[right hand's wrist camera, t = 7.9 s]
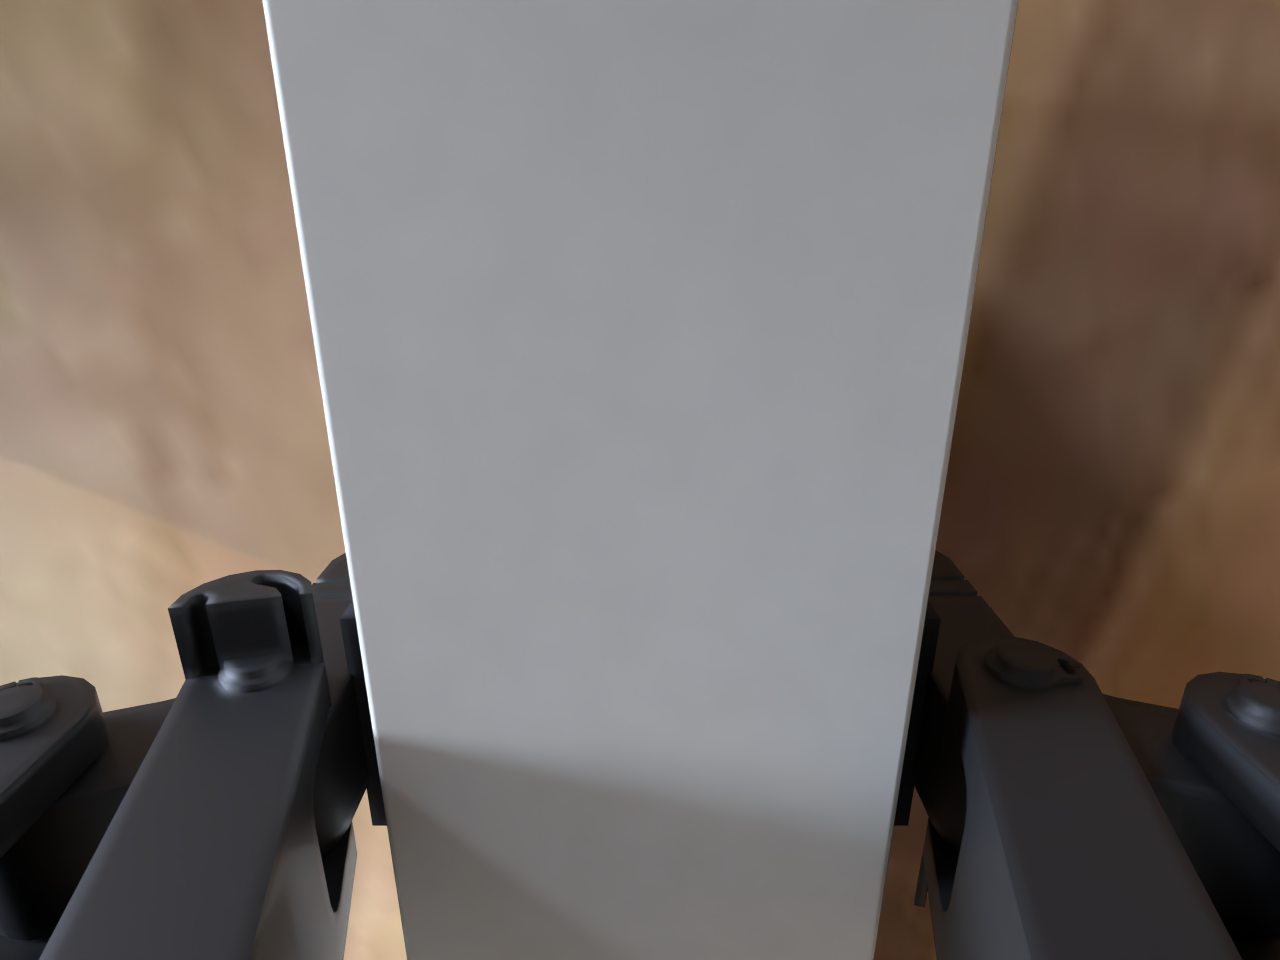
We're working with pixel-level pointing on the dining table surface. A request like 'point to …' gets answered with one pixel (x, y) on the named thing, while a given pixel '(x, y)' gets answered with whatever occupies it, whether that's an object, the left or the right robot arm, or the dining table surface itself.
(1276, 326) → the dining table surface
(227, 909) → the right robot arm
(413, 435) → the post
